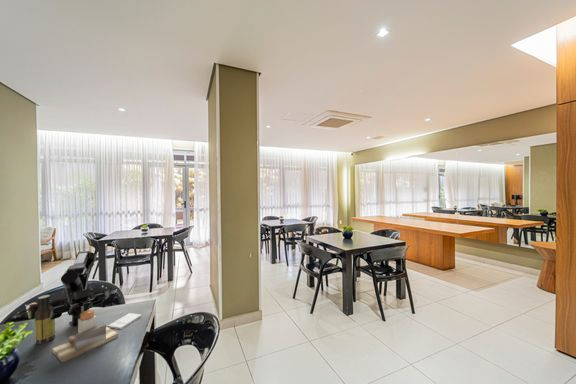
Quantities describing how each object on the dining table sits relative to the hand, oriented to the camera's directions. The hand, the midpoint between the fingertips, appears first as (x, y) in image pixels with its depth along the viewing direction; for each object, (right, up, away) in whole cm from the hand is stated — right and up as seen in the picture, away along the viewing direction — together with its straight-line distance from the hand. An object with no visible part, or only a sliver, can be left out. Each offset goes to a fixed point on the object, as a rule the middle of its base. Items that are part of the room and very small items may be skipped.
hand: (84, 322), depth 104 cm
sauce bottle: (-19, -9, +2) cm, 22 cm away
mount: (+2, -9, -1) cm, 9 cm away
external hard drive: (+6, -10, +17) cm, 21 cm away
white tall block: (+2, -7, -1) cm, 8 cm away
